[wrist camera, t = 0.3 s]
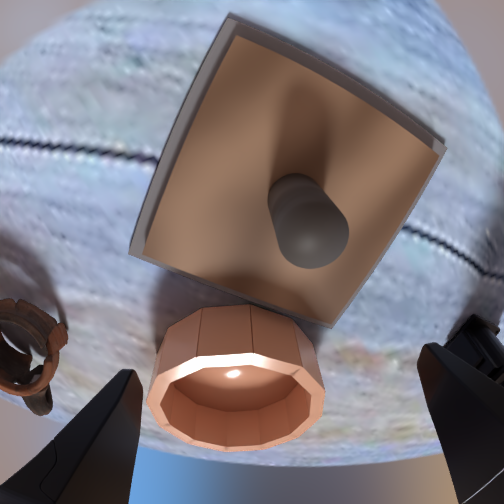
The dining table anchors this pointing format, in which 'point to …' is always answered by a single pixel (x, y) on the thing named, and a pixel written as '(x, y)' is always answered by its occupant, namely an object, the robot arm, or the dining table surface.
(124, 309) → the dining table surface
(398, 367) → the dining table surface
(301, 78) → the walnut lid
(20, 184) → the dining table surface
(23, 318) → the brown curved piece
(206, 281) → the felt mat
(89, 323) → the dining table surface
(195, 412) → the terracotta bowl
